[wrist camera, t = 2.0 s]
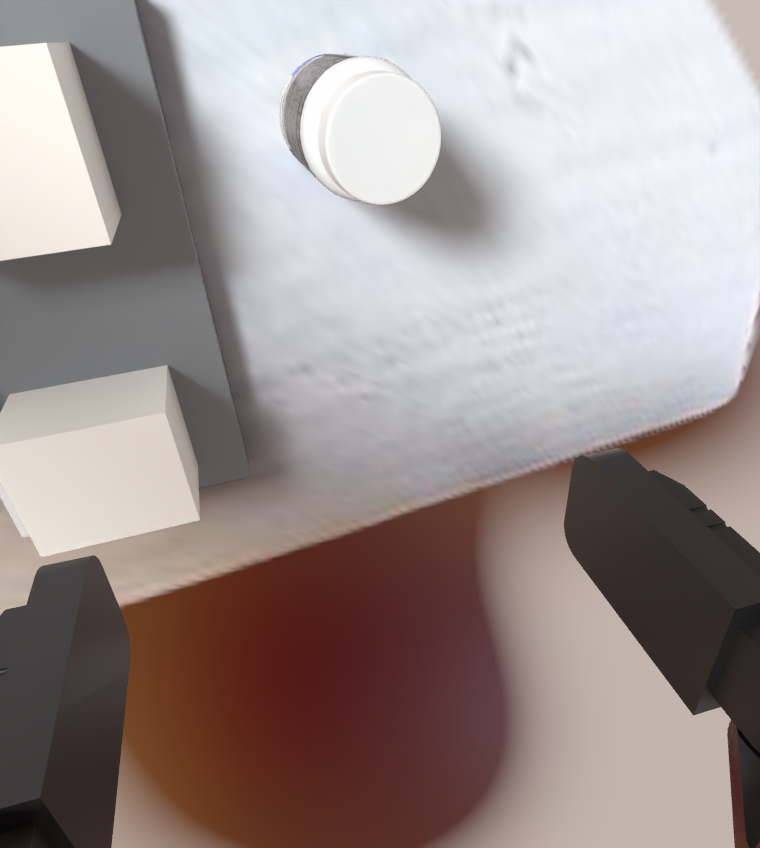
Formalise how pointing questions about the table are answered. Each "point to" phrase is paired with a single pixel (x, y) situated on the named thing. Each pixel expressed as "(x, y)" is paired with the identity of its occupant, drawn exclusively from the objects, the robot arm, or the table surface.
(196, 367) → the rail board
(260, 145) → the table surface
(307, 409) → the table surface
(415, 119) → the pill bottle
